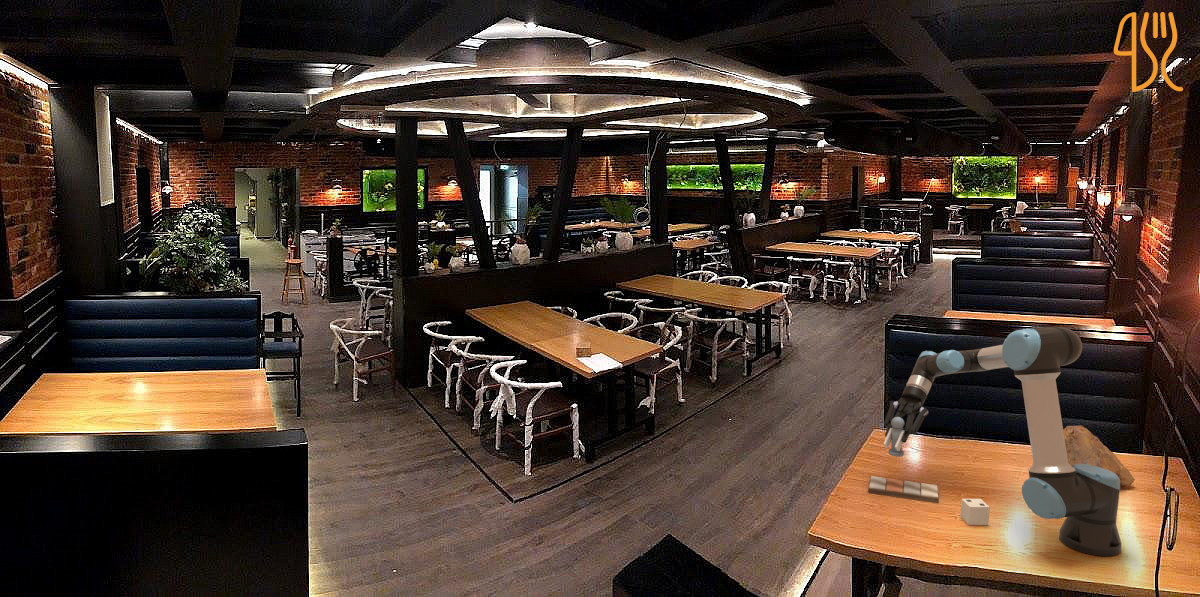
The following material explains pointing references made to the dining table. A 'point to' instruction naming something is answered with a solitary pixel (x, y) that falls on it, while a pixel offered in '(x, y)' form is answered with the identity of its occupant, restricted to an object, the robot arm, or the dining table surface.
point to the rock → (1093, 453)
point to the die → (975, 511)
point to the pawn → (896, 436)
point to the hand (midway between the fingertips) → (891, 447)
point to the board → (904, 489)
